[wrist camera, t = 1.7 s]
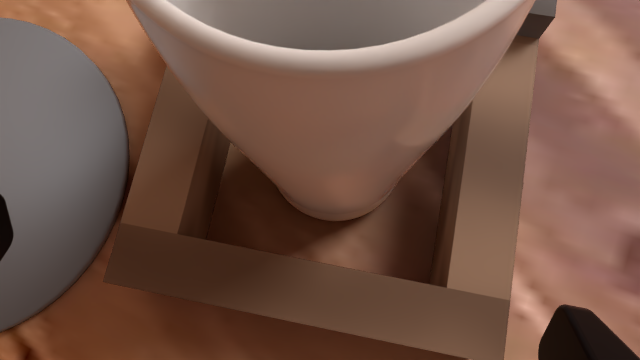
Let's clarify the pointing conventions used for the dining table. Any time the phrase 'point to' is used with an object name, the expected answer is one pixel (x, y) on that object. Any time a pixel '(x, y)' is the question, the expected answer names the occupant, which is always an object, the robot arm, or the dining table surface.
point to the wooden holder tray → (329, 280)
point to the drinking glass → (332, 83)
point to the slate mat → (54, 165)
